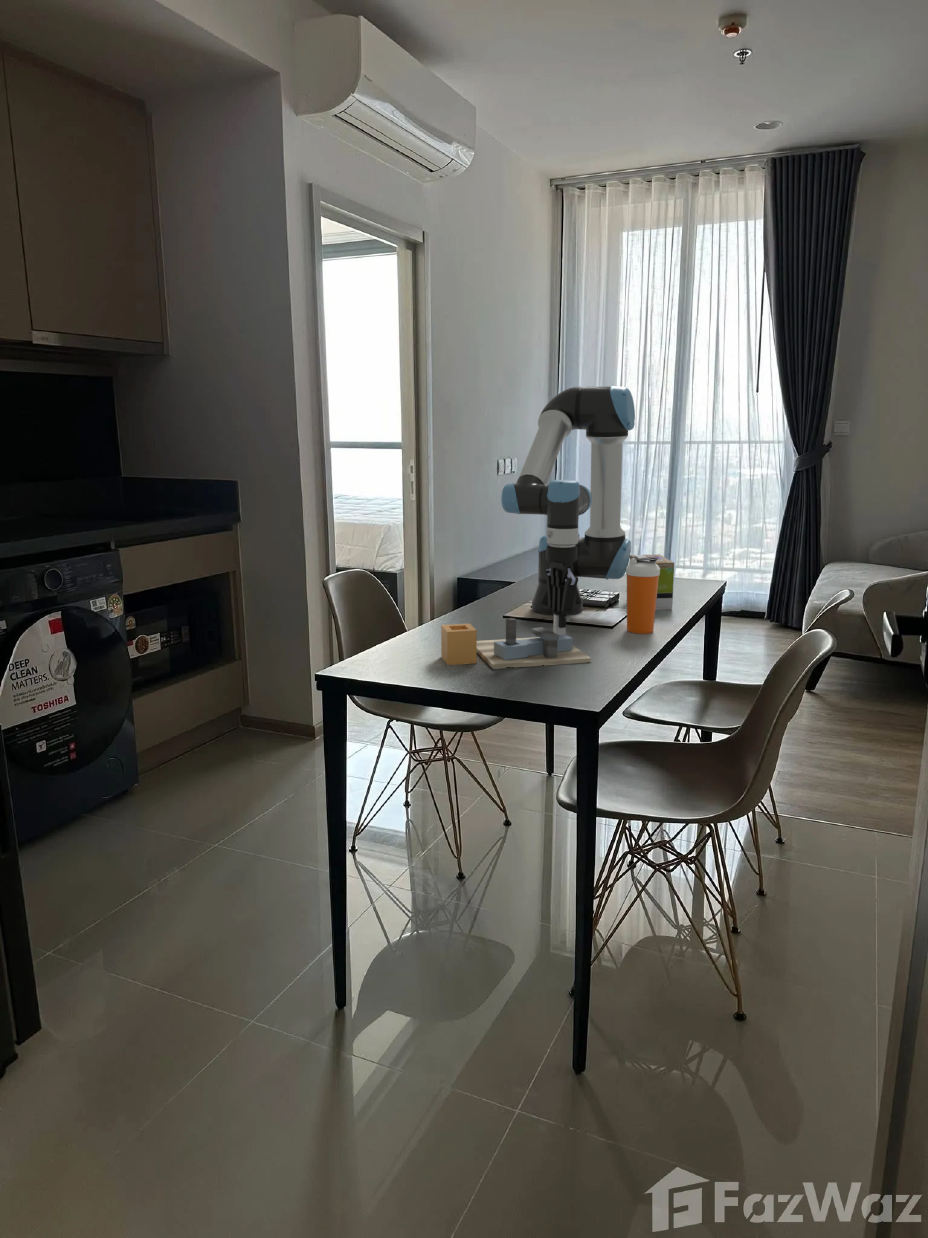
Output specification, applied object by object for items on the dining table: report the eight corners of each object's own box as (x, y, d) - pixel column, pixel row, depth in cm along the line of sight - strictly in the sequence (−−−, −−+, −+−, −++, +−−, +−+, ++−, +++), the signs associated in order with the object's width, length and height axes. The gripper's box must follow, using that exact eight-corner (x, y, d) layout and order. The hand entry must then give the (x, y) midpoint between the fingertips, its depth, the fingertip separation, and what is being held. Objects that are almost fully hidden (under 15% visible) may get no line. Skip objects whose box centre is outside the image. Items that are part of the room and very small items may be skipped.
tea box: (627, 600, 276) (629, 554, 273) (658, 599, 277) (660, 553, 273) (640, 610, 261) (642, 561, 258) (673, 610, 262) (675, 561, 259)
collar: (441, 657, 211) (441, 625, 210) (469, 655, 213) (469, 623, 211) (447, 665, 205) (447, 631, 203) (476, 663, 206) (476, 630, 204)
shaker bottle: (657, 635, 232) (660, 560, 227) (622, 633, 234) (626, 559, 229) (656, 627, 240) (660, 555, 236) (623, 626, 242) (626, 554, 238)
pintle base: (470, 645, 222) (470, 606, 220) (559, 639, 228) (560, 602, 225) (492, 668, 202) (493, 626, 199) (590, 662, 207) (592, 621, 205)
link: (505, 660, 204) (505, 647, 204) (493, 653, 210) (493, 641, 209) (574, 651, 212) (575, 639, 212) (562, 645, 218) (562, 633, 217)
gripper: (536, 542, 215) (533, 634, 221) (561, 549, 204) (558, 647, 209) (562, 540, 218) (560, 632, 224) (589, 547, 207) (585, 644, 212)
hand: (559, 639), depth 216 cm, fingers closed
